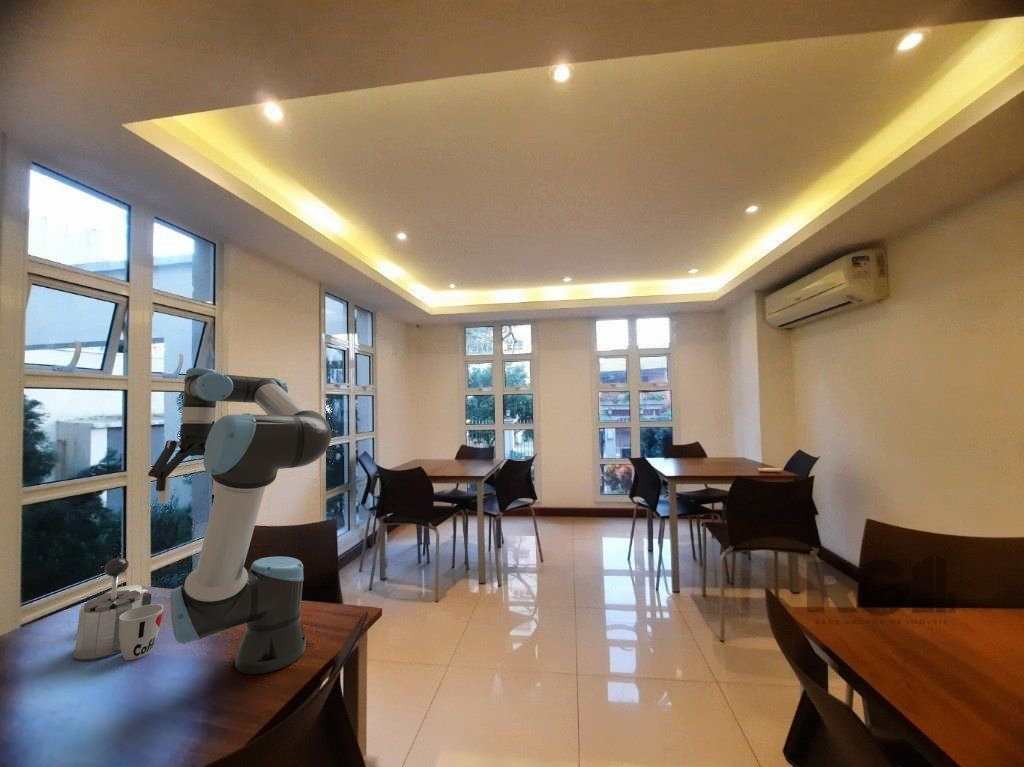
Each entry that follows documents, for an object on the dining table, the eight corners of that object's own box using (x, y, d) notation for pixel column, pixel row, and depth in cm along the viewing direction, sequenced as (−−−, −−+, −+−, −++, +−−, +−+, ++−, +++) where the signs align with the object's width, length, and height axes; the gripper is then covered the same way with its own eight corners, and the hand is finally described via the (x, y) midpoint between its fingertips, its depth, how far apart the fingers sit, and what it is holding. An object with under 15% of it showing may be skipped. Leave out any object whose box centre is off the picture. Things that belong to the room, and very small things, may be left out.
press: (157, 637, 104) (162, 591, 105) (87, 666, 92) (93, 614, 93) (132, 626, 109) (137, 582, 110) (62, 653, 96) (68, 603, 97)
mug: (150, 618, 114) (154, 586, 115) (109, 633, 105) (113, 599, 106) (136, 612, 117) (139, 581, 117) (94, 627, 108) (98, 593, 109)
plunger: (139, 634, 102) (147, 555, 104) (94, 652, 94) (104, 566, 96) (121, 627, 106) (129, 550, 107) (76, 643, 98) (86, 560, 99)
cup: (131, 666, 93) (136, 622, 93) (105, 660, 94) (110, 617, 95) (167, 646, 101) (171, 606, 101) (143, 642, 102) (147, 602, 103)
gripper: (232, 422, 124) (226, 490, 122) (136, 422, 101) (127, 506, 99) (249, 422, 122) (243, 492, 120) (155, 422, 98) (146, 508, 96)
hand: (191, 498), depth 109 cm, fingers open, 13 cm apart
